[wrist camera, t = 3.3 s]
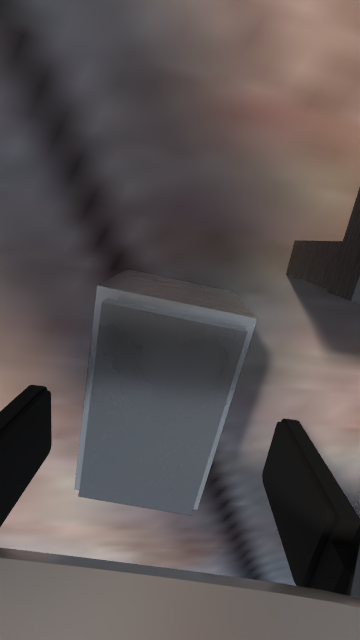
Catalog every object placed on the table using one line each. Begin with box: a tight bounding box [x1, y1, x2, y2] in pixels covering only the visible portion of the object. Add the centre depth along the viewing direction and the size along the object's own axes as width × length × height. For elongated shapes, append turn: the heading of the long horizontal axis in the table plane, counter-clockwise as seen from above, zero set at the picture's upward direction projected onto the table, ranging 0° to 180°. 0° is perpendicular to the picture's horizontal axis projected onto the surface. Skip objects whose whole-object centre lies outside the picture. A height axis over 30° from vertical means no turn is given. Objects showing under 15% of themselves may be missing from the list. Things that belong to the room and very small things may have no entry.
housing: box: [75, 269, 257, 515], centre depth 13 cm, size 10×6×6 cm, turn 168°
